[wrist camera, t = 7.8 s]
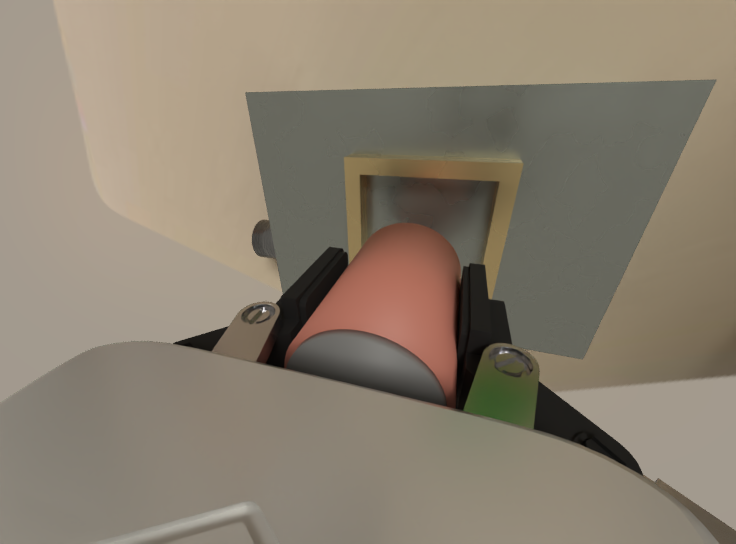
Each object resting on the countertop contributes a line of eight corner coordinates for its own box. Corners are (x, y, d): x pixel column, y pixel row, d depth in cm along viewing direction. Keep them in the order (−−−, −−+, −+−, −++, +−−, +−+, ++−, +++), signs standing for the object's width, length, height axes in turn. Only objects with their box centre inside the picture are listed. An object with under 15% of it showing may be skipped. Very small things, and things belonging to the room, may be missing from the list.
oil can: (468, 227, 12) (470, 354, 6) (453, 320, 14) (443, 478, 8) (357, 218, 13) (264, 315, 7) (359, 305, 15) (291, 433, 9)
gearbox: (638, 86, 16) (741, 77, 10) (558, 302, 23) (589, 374, 17) (262, 95, 22) (182, 93, 16) (289, 264, 29) (241, 308, 23)
